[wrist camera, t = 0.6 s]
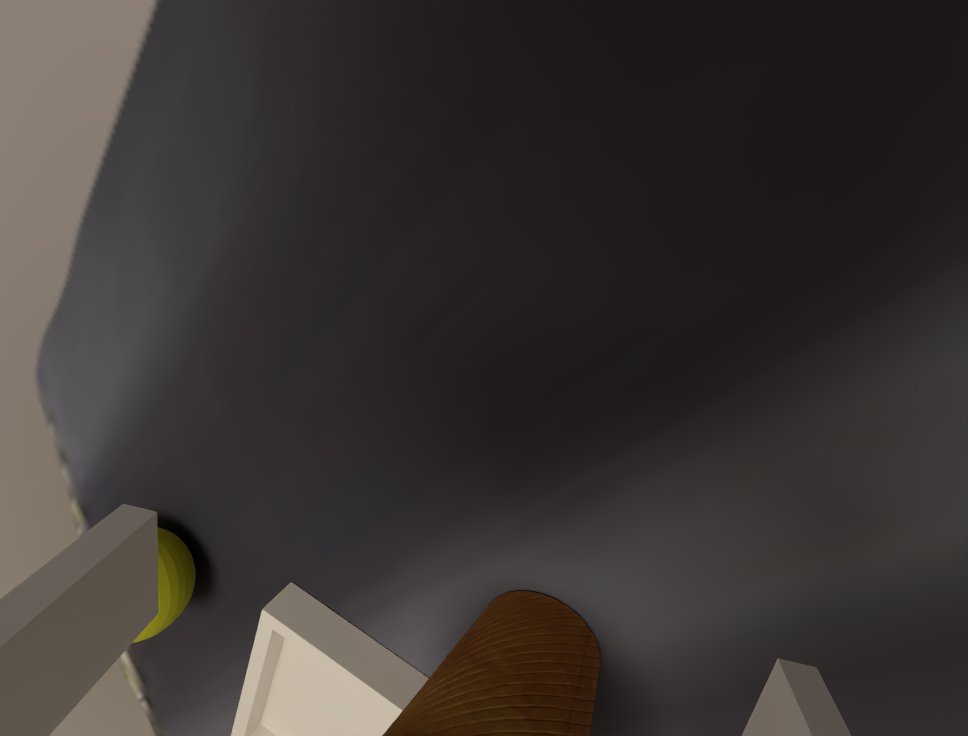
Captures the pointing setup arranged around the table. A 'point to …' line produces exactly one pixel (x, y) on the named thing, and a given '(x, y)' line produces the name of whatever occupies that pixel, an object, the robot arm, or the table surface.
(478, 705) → the disposable coffee cup
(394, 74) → the table surface
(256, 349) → the table surface
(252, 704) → the square tray
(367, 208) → the table surface
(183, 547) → the ornament
